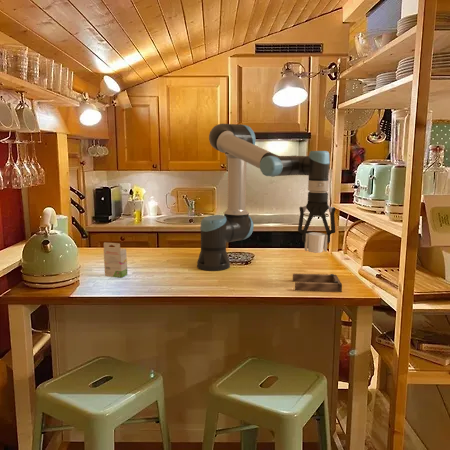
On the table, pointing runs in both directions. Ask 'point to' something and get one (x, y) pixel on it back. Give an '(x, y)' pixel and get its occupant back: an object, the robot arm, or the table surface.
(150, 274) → the table surface
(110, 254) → the ink box
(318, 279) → the tray
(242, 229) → the robot arm
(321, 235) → the white cup
